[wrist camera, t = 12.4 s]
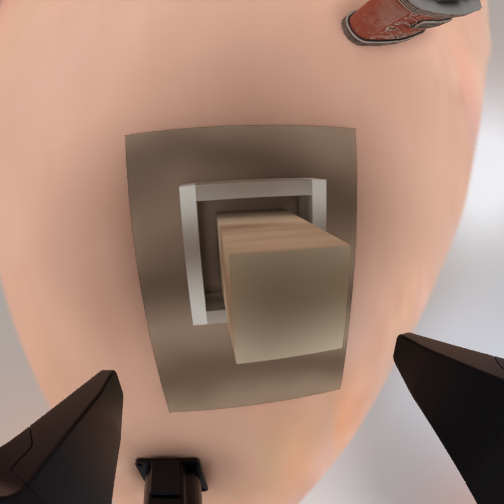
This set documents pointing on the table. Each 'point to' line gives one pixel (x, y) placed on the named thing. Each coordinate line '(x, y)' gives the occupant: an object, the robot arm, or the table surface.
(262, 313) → the peg
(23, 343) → the table surface
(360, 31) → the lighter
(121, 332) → the table surface
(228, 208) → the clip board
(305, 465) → the table surface
